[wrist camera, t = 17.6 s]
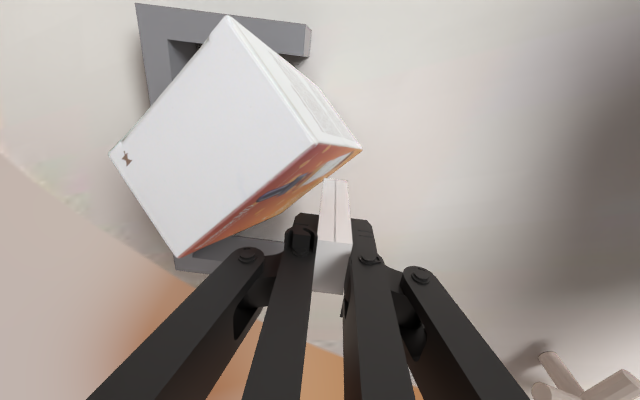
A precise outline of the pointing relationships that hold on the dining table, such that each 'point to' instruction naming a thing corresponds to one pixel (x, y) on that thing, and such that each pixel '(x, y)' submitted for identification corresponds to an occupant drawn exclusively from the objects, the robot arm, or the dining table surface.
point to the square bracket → (170, 58)
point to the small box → (230, 142)
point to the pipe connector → (607, 396)
